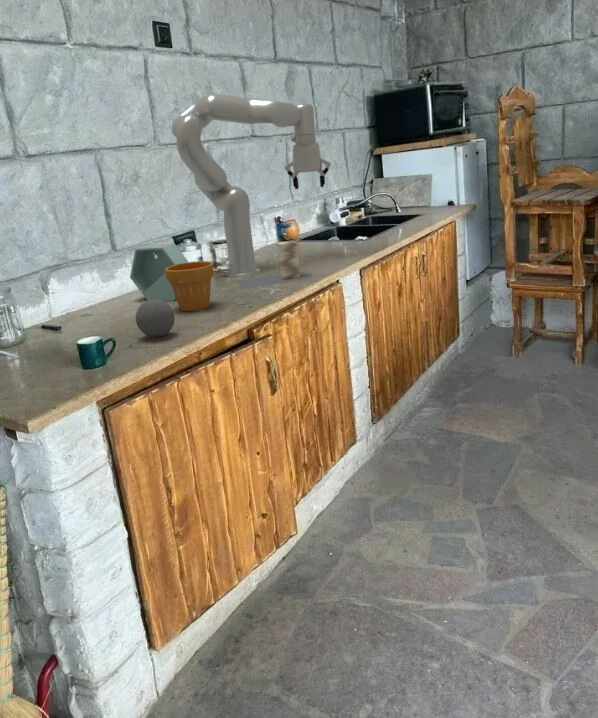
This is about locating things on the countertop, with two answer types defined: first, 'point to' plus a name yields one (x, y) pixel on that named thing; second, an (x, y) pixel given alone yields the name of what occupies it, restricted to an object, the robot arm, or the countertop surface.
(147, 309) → the decorative ball
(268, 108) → the robot arm
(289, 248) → the birch block
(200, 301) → the flower pot
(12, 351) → the countertop surface
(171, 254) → the planter
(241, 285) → the slate mat
